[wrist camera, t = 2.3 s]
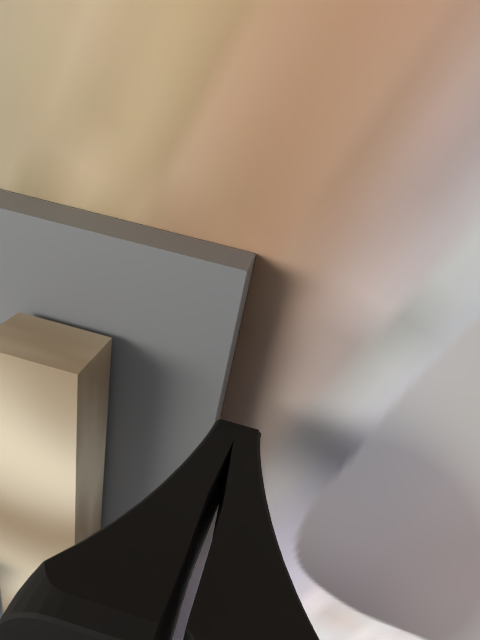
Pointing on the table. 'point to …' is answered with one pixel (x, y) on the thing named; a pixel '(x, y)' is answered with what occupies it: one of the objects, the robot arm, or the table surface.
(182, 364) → the board
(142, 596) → the robot arm
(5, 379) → the link
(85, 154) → the table surface
